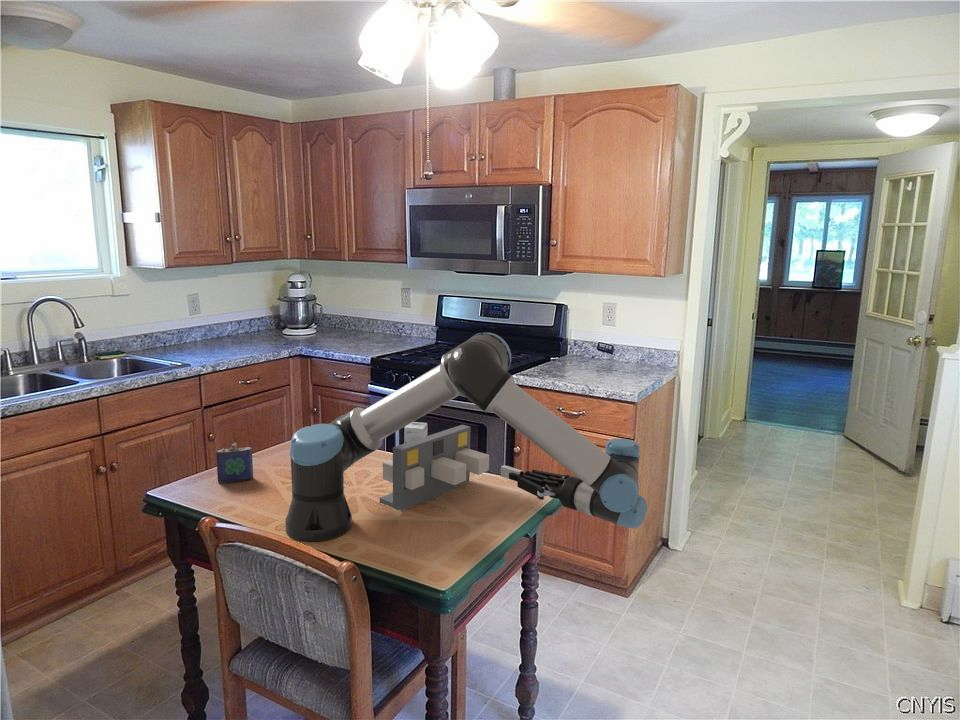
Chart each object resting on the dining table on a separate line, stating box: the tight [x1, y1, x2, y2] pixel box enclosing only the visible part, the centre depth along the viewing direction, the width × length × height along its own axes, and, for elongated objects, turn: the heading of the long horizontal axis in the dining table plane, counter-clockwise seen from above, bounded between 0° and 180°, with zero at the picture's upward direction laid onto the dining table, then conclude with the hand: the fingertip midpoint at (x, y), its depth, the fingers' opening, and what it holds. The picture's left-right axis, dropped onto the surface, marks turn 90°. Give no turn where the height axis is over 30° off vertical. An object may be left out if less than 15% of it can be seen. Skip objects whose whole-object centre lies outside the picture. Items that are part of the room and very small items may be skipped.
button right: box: [455, 448, 490, 476], centre depth 172 cm, size 4×10×4 cm, turn 51°
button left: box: [382, 458, 424, 490], centre depth 162 cm, size 4×10×4 cm, turn 51°
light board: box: [378, 424, 472, 512], centre depth 169 cm, size 26×8×16 cm, turn 141°
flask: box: [215, 442, 254, 484], centre depth 174 cm, size 9×3×11 cm, turn 114°
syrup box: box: [403, 421, 428, 444], centre depth 183 cm, size 6×6×14 cm
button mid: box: [431, 456, 466, 485], centre depth 165 cm, size 4×10×4 cm, turn 51°
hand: (502, 470), depth 165 cm, fingers closed
